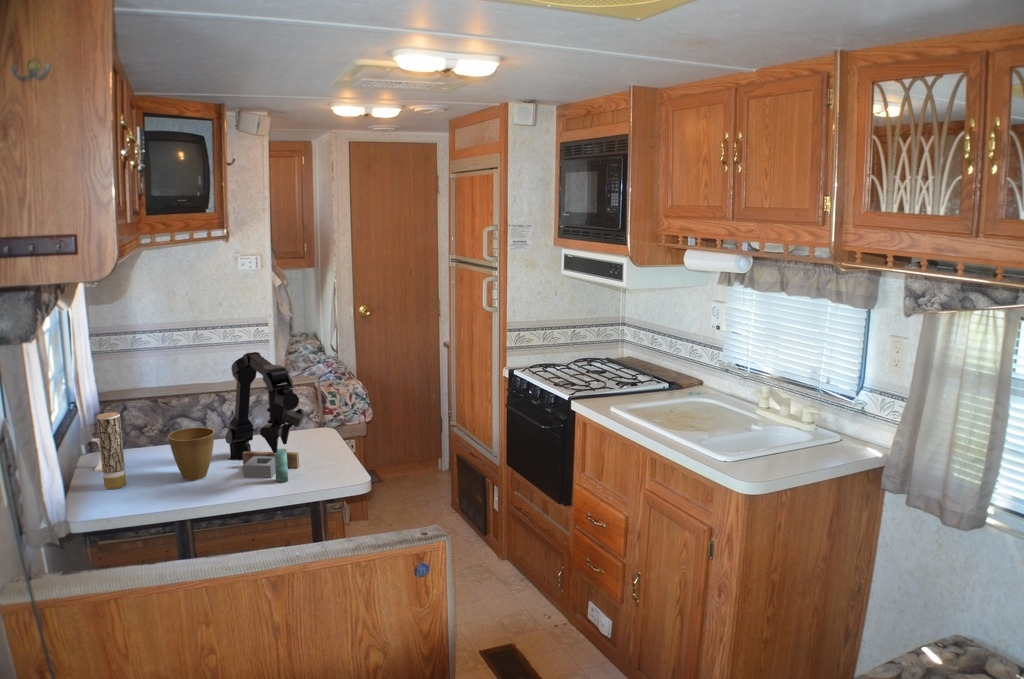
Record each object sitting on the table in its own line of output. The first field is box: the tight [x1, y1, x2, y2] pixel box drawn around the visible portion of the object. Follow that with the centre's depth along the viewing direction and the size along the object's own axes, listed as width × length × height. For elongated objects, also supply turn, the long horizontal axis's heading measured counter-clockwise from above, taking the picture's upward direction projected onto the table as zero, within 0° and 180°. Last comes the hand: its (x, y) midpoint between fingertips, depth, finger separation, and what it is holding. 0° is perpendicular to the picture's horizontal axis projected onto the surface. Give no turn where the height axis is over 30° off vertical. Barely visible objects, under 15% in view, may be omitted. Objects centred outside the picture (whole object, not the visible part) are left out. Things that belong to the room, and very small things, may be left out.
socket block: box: [241, 456, 276, 479], centre depth 275 cm, size 10×10×4 cm
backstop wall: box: [242, 451, 300, 470], centre depth 280 cm, size 20×2×6 cm, turn 86°
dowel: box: [275, 448, 289, 484], centre depth 266 cm, size 4×4×11 cm
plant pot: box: [167, 426, 215, 481], centre depth 270 cm, size 15×15×16 cm
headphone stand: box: [90, 438, 103, 473], centre depth 279 cm, size 5×6×12 cm
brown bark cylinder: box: [96, 411, 127, 490], centre depth 261 cm, size 7×7×25 cm
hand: (280, 448), depth 265 cm, fingers open, 9 cm apart
